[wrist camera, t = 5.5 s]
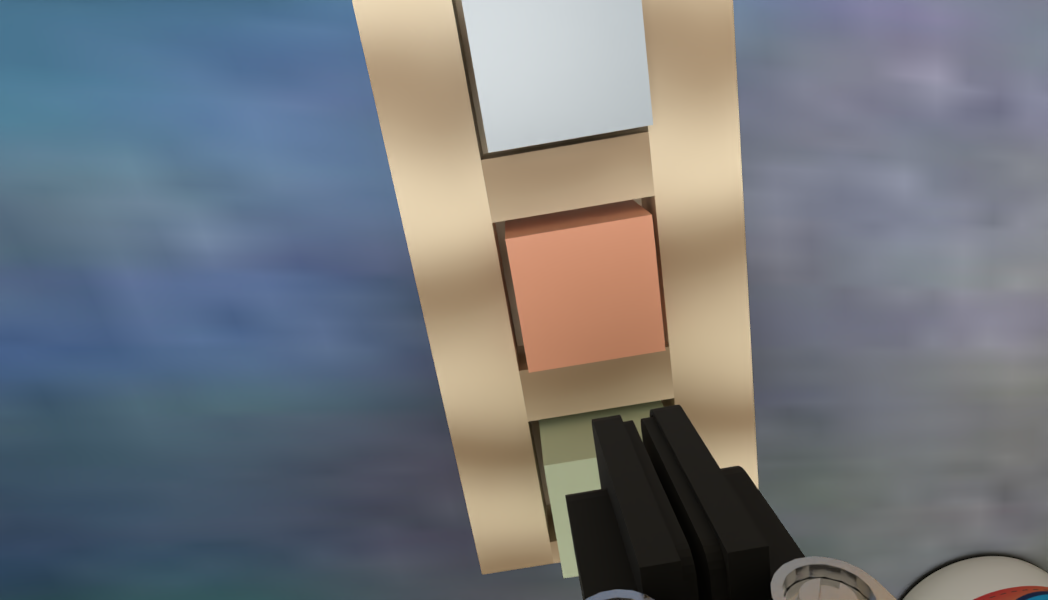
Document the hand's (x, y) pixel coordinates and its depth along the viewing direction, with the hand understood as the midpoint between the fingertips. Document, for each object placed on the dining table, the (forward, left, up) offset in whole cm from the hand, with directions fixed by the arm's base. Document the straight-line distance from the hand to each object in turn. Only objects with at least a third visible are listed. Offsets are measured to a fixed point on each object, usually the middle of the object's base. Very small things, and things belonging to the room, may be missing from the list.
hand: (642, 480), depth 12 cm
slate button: (+8, 0, -13) cm, 15 cm away
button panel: (0, 0, -15) cm, 15 cm away
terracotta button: (0, 0, -14) cm, 14 cm away
